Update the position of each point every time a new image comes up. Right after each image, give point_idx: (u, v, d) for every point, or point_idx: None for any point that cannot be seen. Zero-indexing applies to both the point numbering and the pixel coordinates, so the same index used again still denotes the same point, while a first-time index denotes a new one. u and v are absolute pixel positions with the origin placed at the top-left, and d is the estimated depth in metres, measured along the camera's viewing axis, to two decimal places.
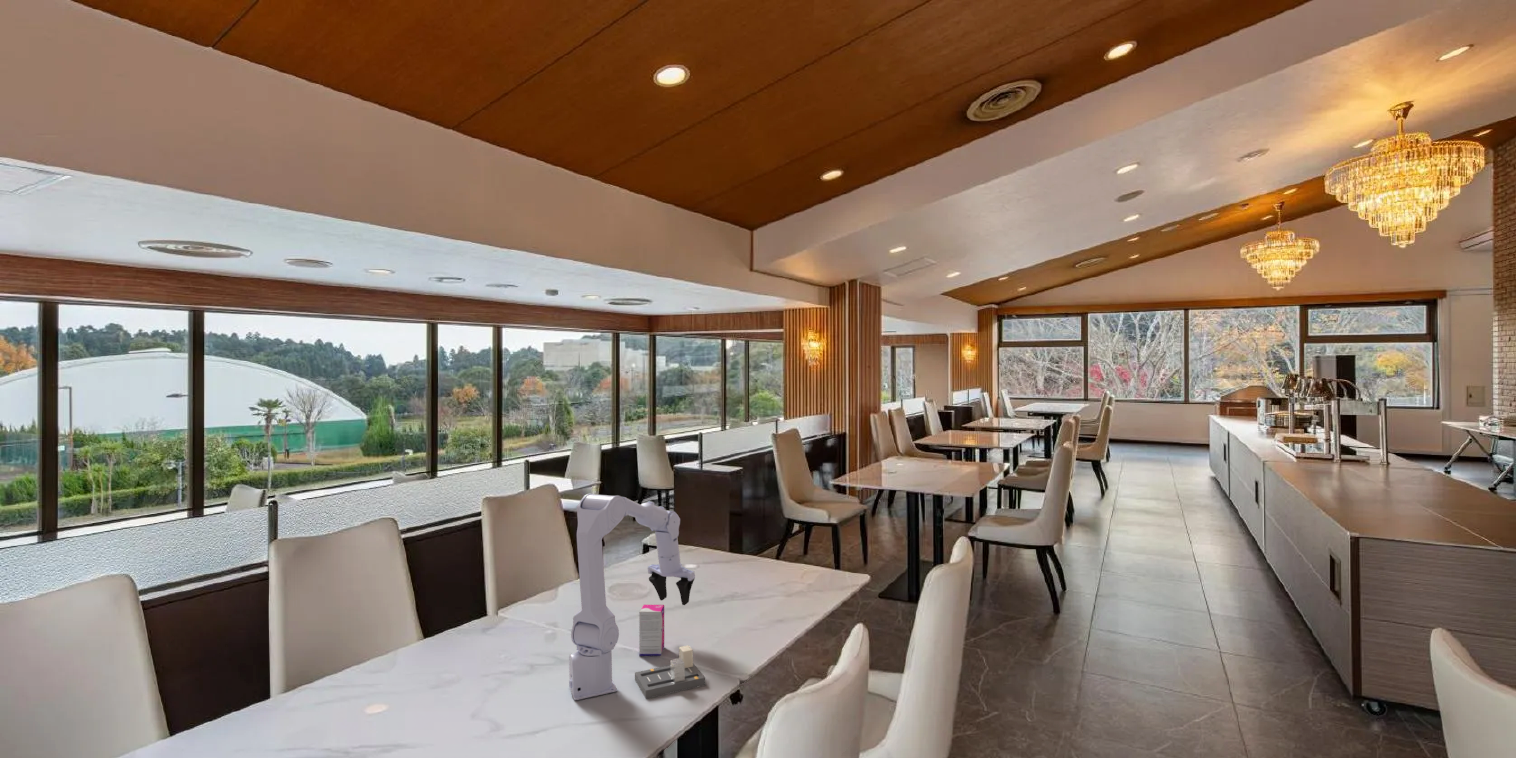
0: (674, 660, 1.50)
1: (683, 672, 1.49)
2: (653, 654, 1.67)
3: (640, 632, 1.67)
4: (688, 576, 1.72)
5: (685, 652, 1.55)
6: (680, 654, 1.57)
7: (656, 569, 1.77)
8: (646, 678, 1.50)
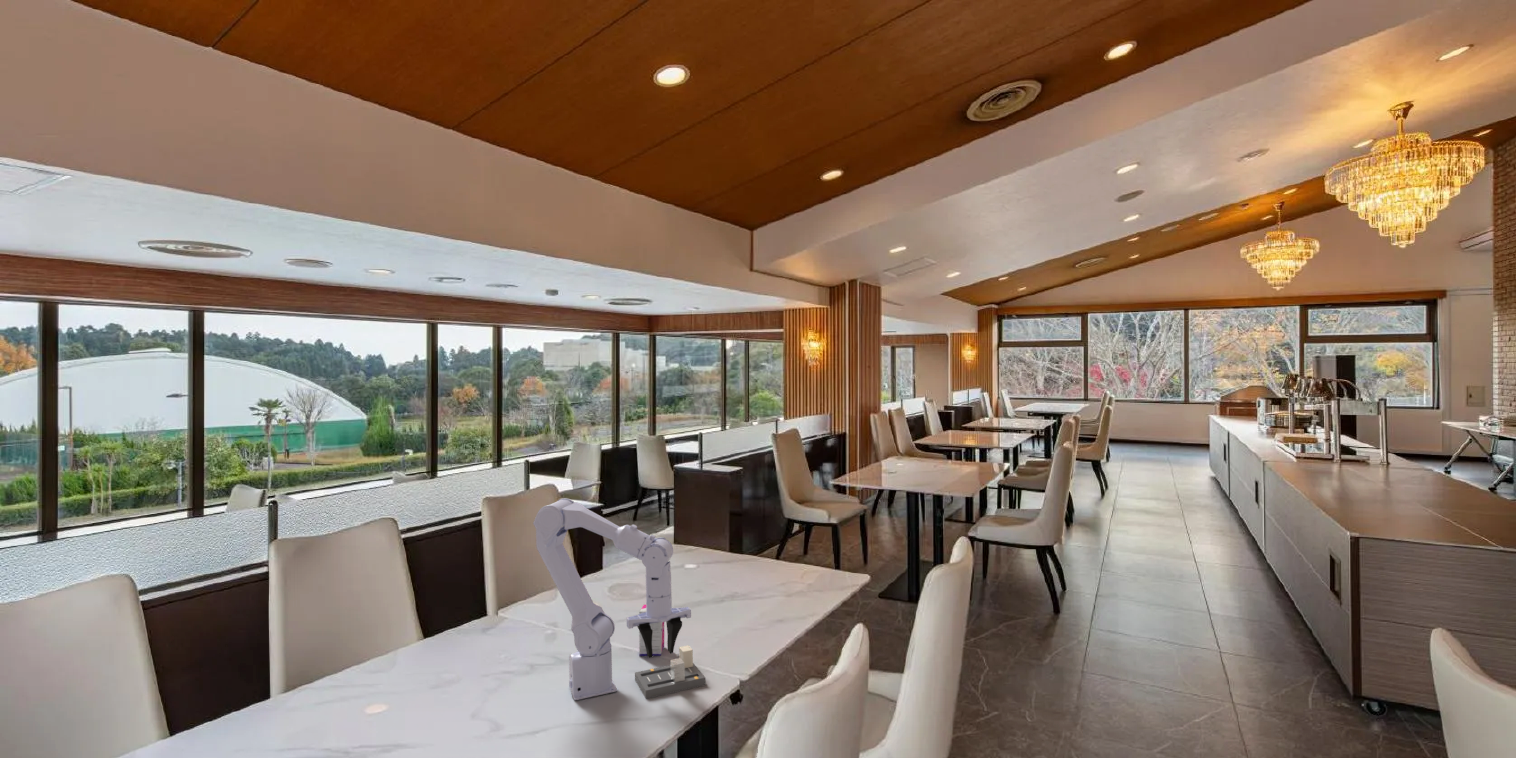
0: (674, 660, 1.50)
1: (683, 672, 1.49)
2: (653, 654, 1.67)
3: None
4: None
5: (685, 652, 1.55)
6: (680, 654, 1.57)
7: None
8: (646, 678, 1.50)
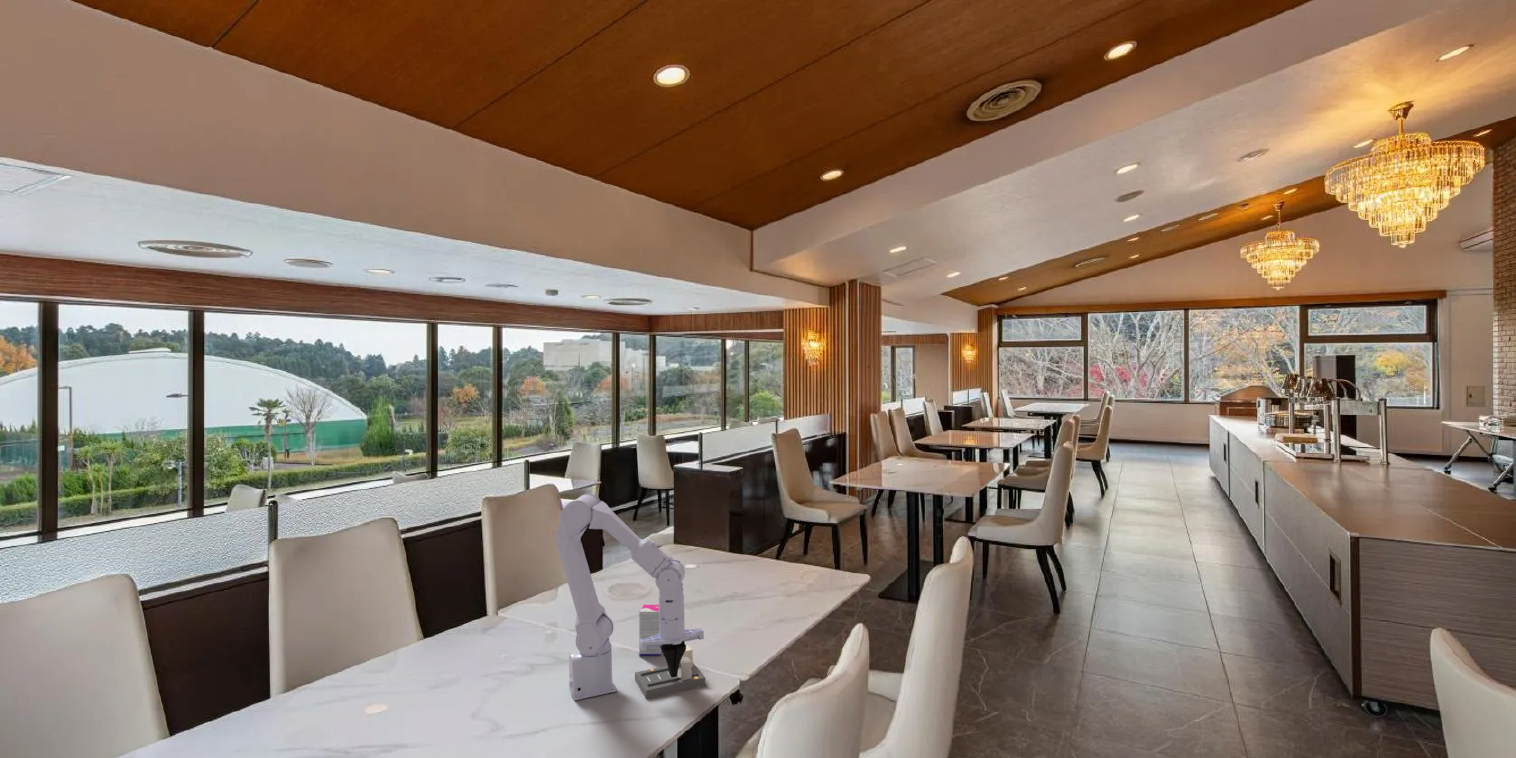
0: (681, 659, 1.51)
1: (690, 671, 1.49)
2: (653, 654, 1.67)
3: (640, 632, 1.67)
4: None
5: (685, 652, 1.55)
6: None
7: None
8: (646, 678, 1.50)
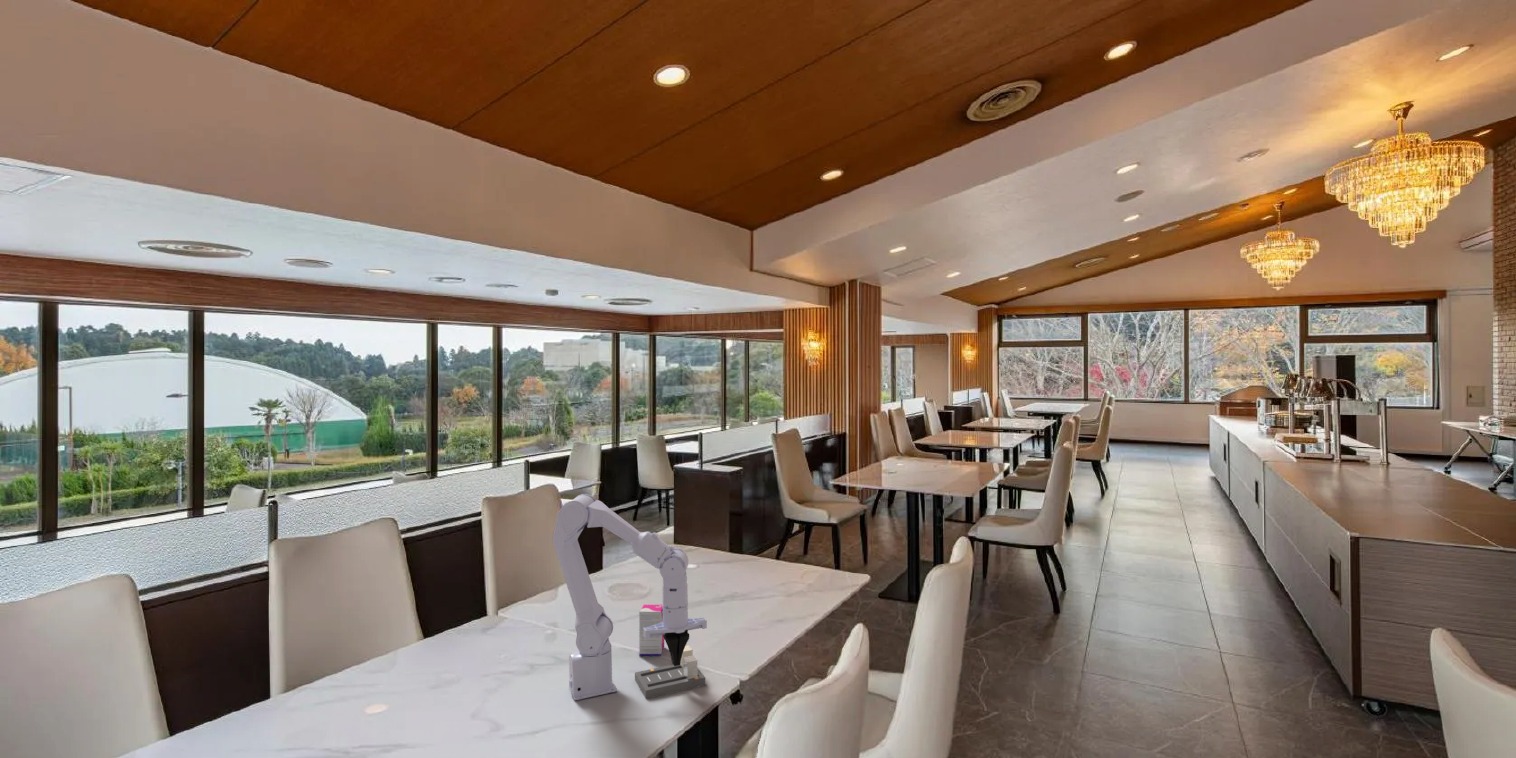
0: (687, 657, 1.51)
1: (696, 669, 1.50)
2: (653, 654, 1.67)
3: (640, 632, 1.67)
4: None
5: (685, 652, 1.55)
6: None
7: None
8: (646, 678, 1.50)
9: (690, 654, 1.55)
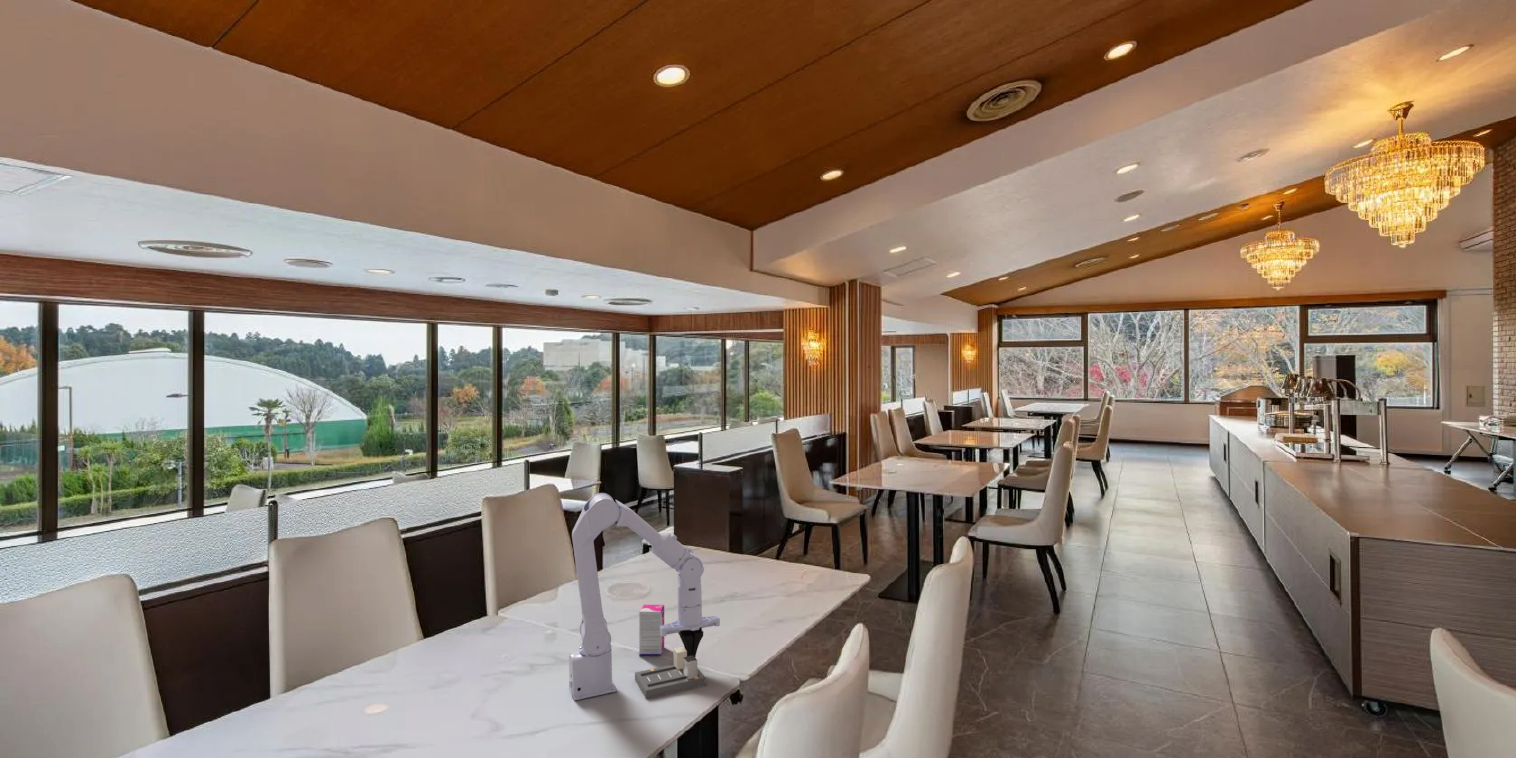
0: (687, 657, 1.51)
1: (696, 669, 1.50)
2: (653, 654, 1.67)
3: (640, 632, 1.67)
4: None
5: (679, 653, 1.54)
6: (674, 655, 1.56)
7: None
8: (646, 678, 1.50)
9: (684, 655, 1.55)
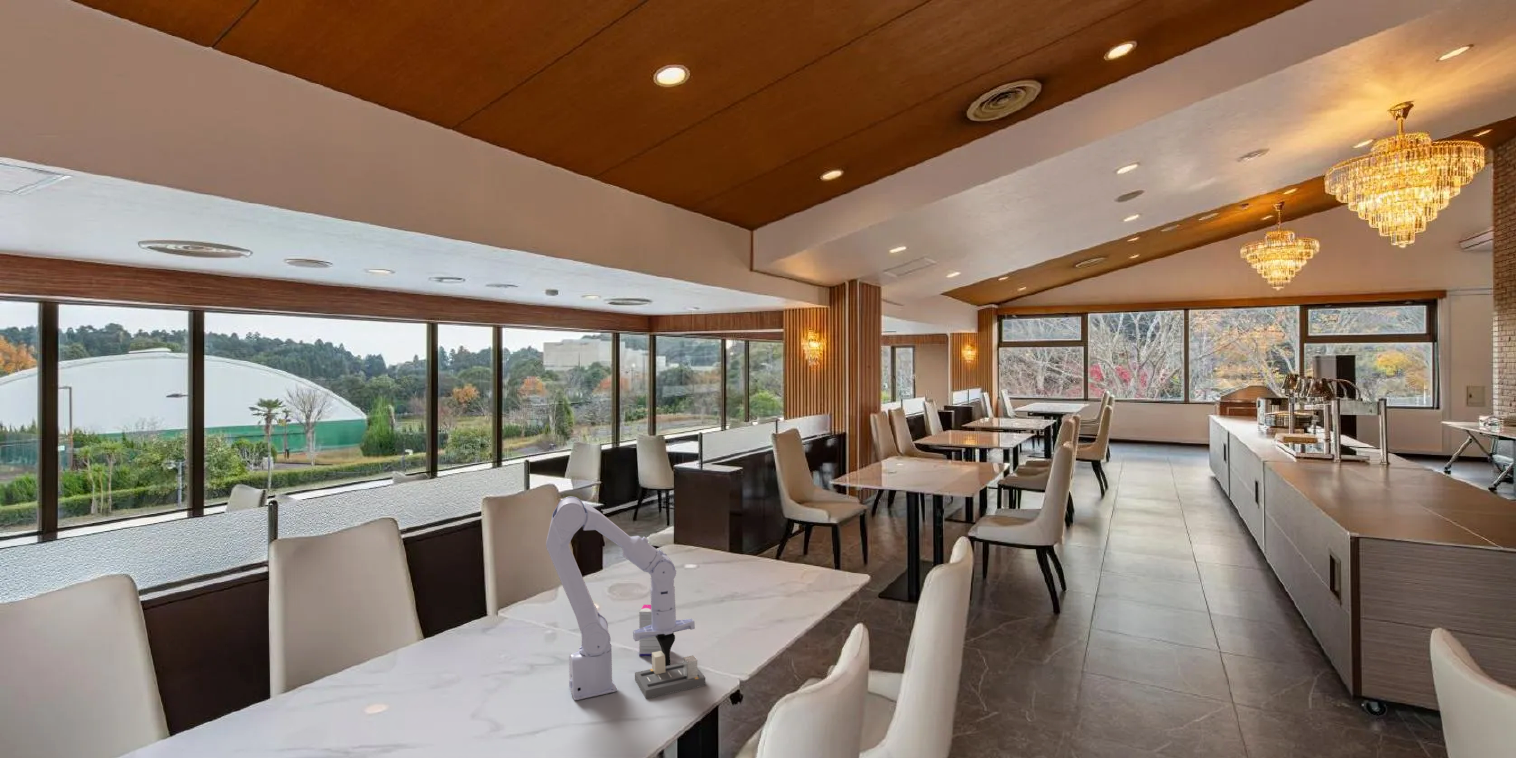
0: (687, 657, 1.51)
1: (696, 669, 1.50)
2: None
3: None
4: None
5: (657, 657, 1.52)
6: (652, 660, 1.54)
7: None
8: (646, 678, 1.50)
9: (662, 660, 1.53)
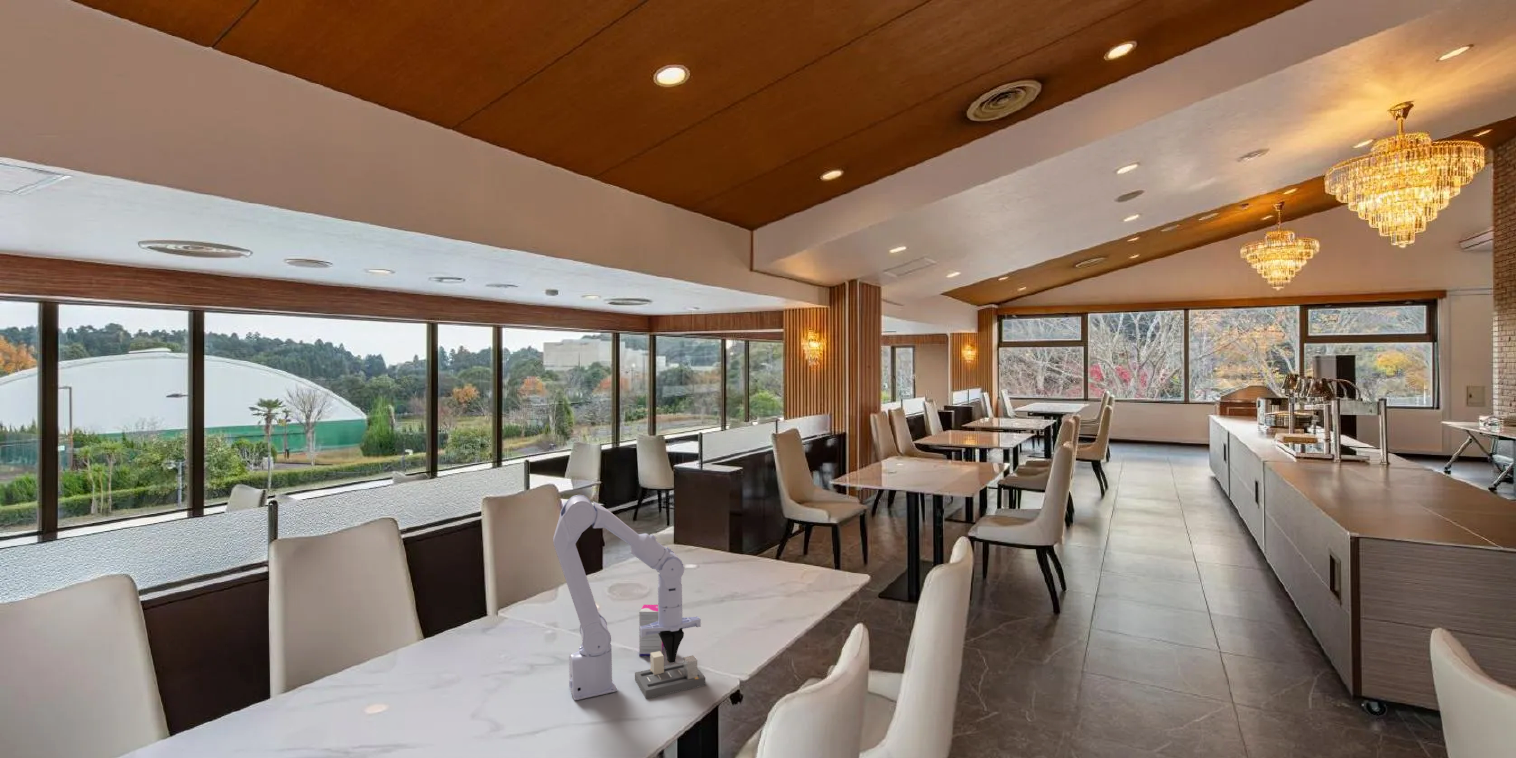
0: (687, 657, 1.51)
1: (696, 669, 1.50)
2: None
3: None
4: None
5: (655, 658, 1.52)
6: (651, 660, 1.54)
7: (686, 620, 1.58)
8: (646, 678, 1.50)
9: (661, 660, 1.53)
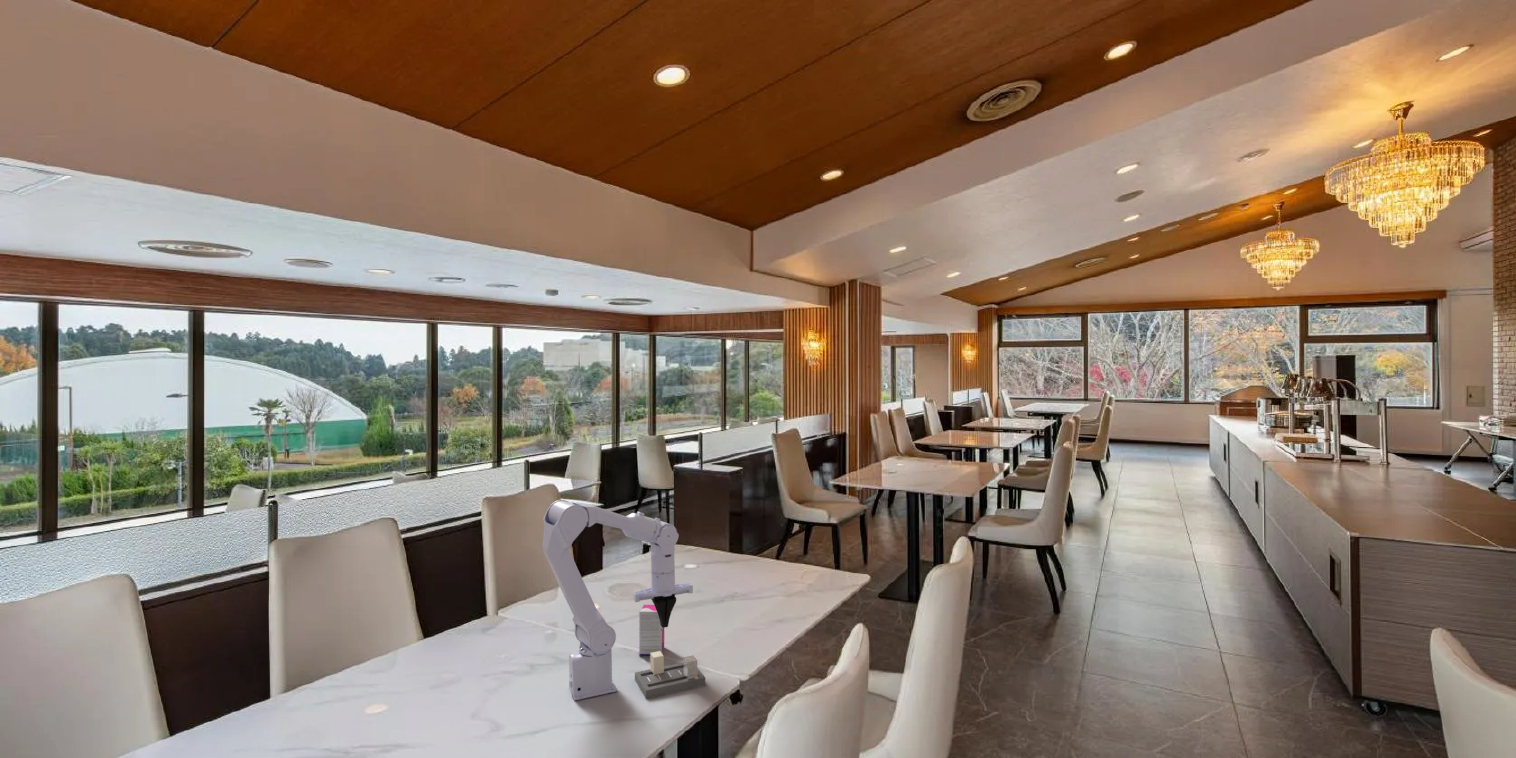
0: (687, 657, 1.51)
1: (696, 669, 1.50)
2: None
3: (640, 632, 1.67)
4: None
5: (655, 658, 1.52)
6: (651, 660, 1.54)
7: None
8: (646, 678, 1.50)
9: (661, 660, 1.53)
